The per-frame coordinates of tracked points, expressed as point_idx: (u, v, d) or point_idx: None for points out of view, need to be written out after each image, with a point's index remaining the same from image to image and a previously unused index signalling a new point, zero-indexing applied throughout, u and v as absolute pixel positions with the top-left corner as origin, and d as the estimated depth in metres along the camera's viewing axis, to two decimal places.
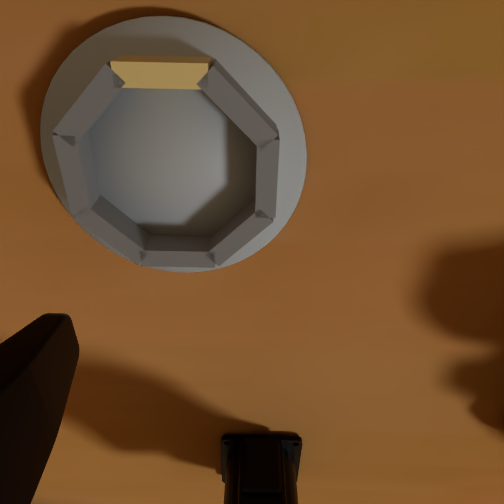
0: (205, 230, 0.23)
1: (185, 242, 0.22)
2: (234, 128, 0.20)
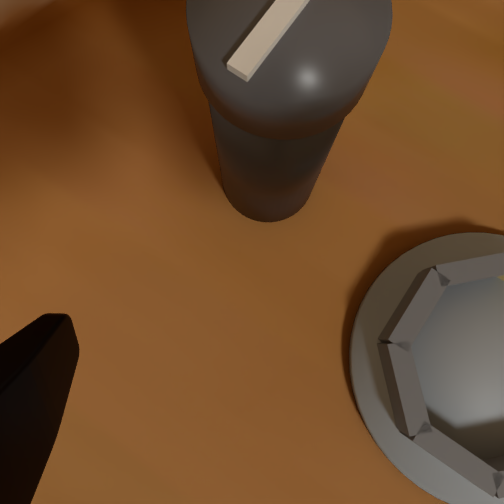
0: (475, 449, 0.19)
1: None
2: None
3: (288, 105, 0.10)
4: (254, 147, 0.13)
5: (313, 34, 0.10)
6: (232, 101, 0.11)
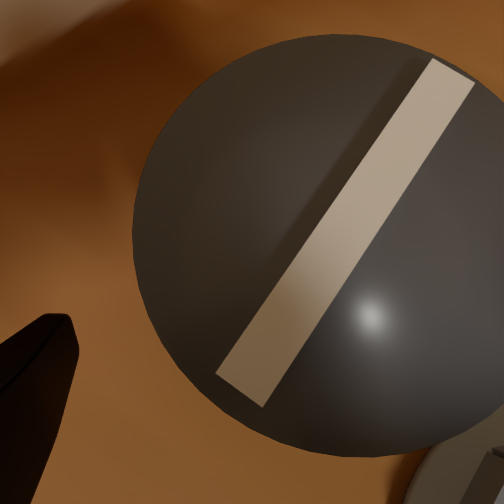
0: None
1: None
2: None
3: (352, 453, 0.05)
4: None
5: (403, 285, 0.05)
6: None
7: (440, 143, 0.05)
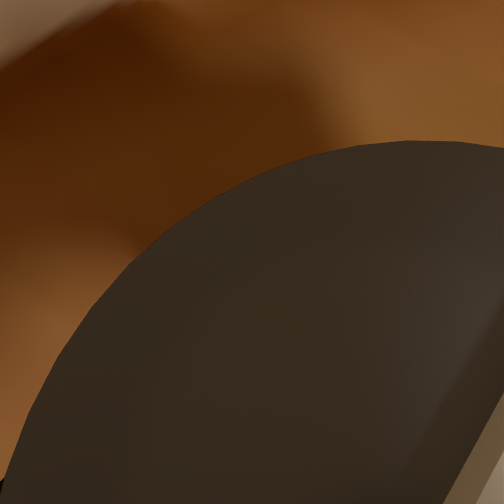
0: None
1: None
2: None
3: None
4: None
5: None
6: None
7: None
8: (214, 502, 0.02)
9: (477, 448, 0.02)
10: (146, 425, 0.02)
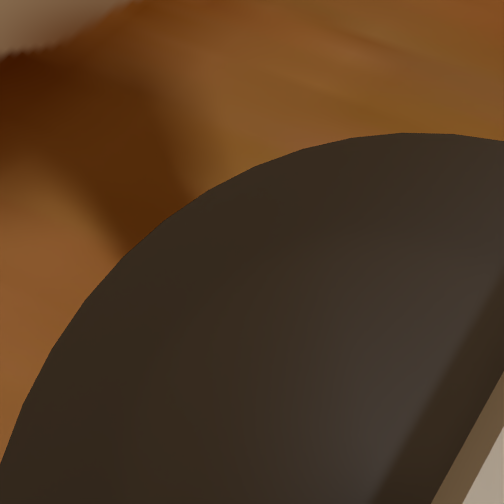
0: None
1: None
2: None
3: None
4: None
5: None
6: None
7: None
8: (208, 492, 0.02)
9: (470, 438, 0.02)
10: (140, 416, 0.02)
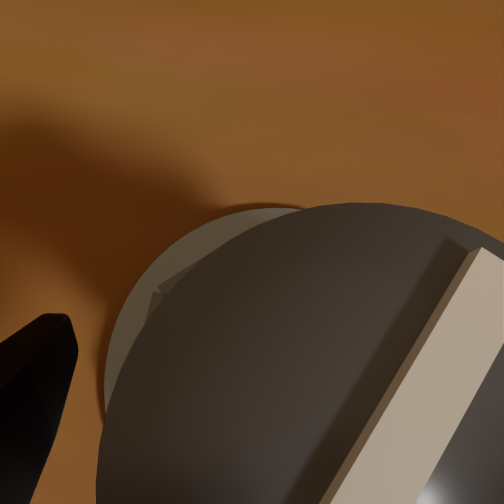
0: None
1: None
2: None
3: None
4: None
5: None
6: None
7: (493, 353, 0.04)
8: (231, 421, 0.04)
9: (386, 390, 0.04)
10: (191, 377, 0.04)
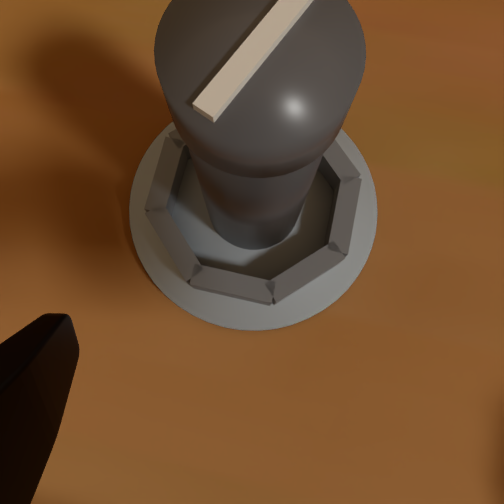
0: (263, 277, 0.21)
1: None
2: (315, 182, 0.22)
3: (256, 147, 0.10)
4: (229, 183, 0.13)
5: (283, 74, 0.10)
6: (200, 140, 0.11)
7: (308, 12, 0.11)
8: (205, 29, 0.10)
9: None
10: (190, 16, 0.10)
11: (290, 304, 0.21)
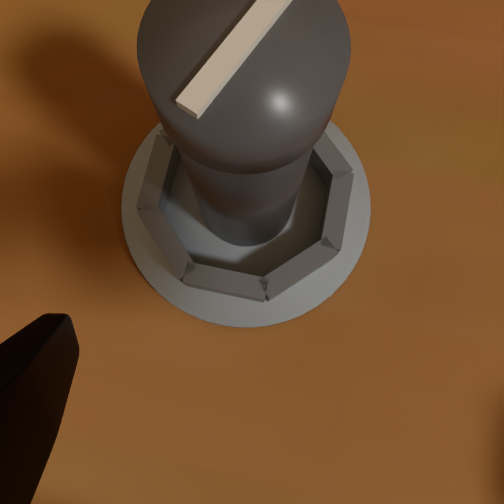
0: (257, 274, 0.21)
1: None
2: (308, 178, 0.22)
3: (240, 144, 0.10)
4: (217, 180, 0.13)
5: (267, 70, 0.10)
6: (185, 137, 0.10)
7: (291, 5, 0.10)
8: (188, 25, 0.10)
9: None
10: (172, 12, 0.10)
11: (284, 300, 0.21)
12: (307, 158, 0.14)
